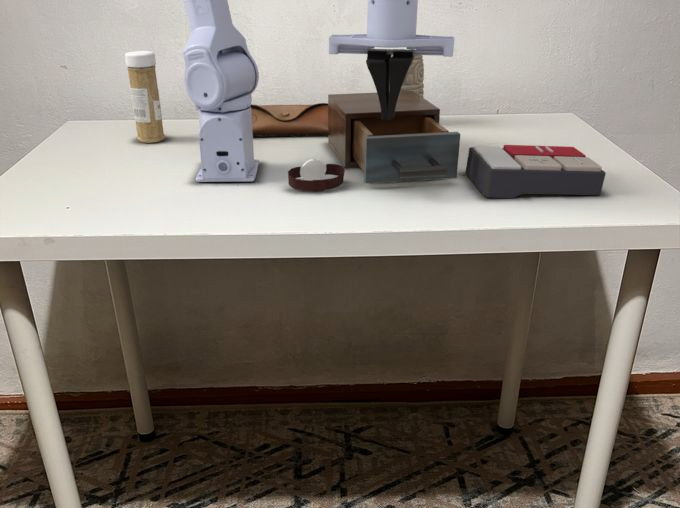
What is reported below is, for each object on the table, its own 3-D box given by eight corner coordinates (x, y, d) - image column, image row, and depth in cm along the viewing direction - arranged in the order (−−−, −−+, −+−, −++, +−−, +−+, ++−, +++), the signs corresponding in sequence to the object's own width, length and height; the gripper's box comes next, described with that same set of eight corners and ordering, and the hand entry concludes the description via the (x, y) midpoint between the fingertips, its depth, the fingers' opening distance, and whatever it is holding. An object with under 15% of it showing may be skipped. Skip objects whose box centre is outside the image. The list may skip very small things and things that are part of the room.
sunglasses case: (232, 136, 115) (230, 95, 115) (234, 148, 122) (232, 110, 122) (341, 133, 116) (339, 93, 116) (337, 146, 123) (336, 108, 123)
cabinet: (436, 162, 103) (440, 109, 99) (345, 168, 101) (345, 113, 97) (410, 139, 114) (413, 90, 110) (328, 144, 112) (328, 94, 108)
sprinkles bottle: (170, 140, 115) (160, 52, 108) (146, 145, 113) (134, 55, 106) (155, 135, 118) (144, 49, 111) (131, 140, 116) (118, 52, 109)
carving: (373, 122, 125) (375, 49, 119) (410, 117, 128) (413, 46, 121) (391, 129, 120) (394, 54, 114) (428, 125, 123) (433, 51, 116)
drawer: (470, 189, 89) (474, 143, 86) (374, 196, 87) (376, 149, 84) (428, 153, 104) (431, 112, 101) (346, 157, 102) (346, 116, 99)
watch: (338, 179, 96) (338, 152, 94) (349, 189, 92) (350, 161, 91) (284, 184, 94) (283, 157, 92) (293, 195, 90) (292, 167, 89)
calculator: (608, 166, 87) (490, 163, 86) (600, 200, 90) (485, 197, 88) (576, 144, 97) (469, 141, 96) (569, 175, 99) (464, 172, 98)
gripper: (458, -8, 82) (449, 112, 89) (336, -9, 84) (336, 108, 91) (456, -3, 76) (446, 125, 83) (325, -4, 78) (325, 121, 85)
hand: (388, 117), depth 87 cm, fingers closed
